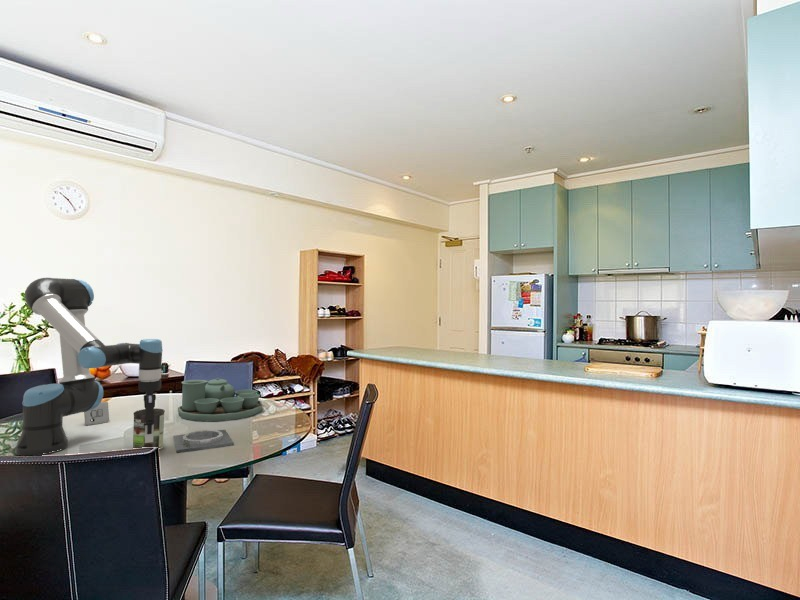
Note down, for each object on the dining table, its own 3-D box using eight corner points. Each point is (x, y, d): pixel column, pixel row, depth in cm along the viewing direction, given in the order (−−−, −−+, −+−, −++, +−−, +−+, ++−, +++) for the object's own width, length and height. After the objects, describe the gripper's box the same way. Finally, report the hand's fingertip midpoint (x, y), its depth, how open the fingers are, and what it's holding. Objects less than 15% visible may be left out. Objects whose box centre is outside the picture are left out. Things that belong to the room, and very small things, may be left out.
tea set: (216, 427, 200) (217, 390, 200) (160, 414, 219) (161, 381, 219) (279, 409, 235) (279, 378, 235) (226, 400, 254) (227, 371, 254)
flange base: (176, 452, 164) (177, 446, 164) (173, 438, 182) (173, 432, 182) (233, 445, 175) (233, 438, 175) (224, 431, 192) (225, 426, 192)
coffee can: (147, 454, 162) (148, 415, 162) (125, 451, 165) (126, 413, 165) (169, 446, 172) (170, 409, 172) (148, 443, 175) (149, 407, 175)
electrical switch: (85, 426, 196) (85, 405, 197) (81, 425, 199) (81, 404, 200) (109, 422, 203) (109, 401, 204) (105, 421, 206) (105, 401, 207)
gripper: (162, 384, 161) (161, 445, 160) (159, 374, 180) (158, 429, 180) (138, 385, 157) (137, 448, 156) (138, 376, 177) (137, 431, 176)
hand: (148, 438), depth 168 cm, fingers open, 11 cm apart
